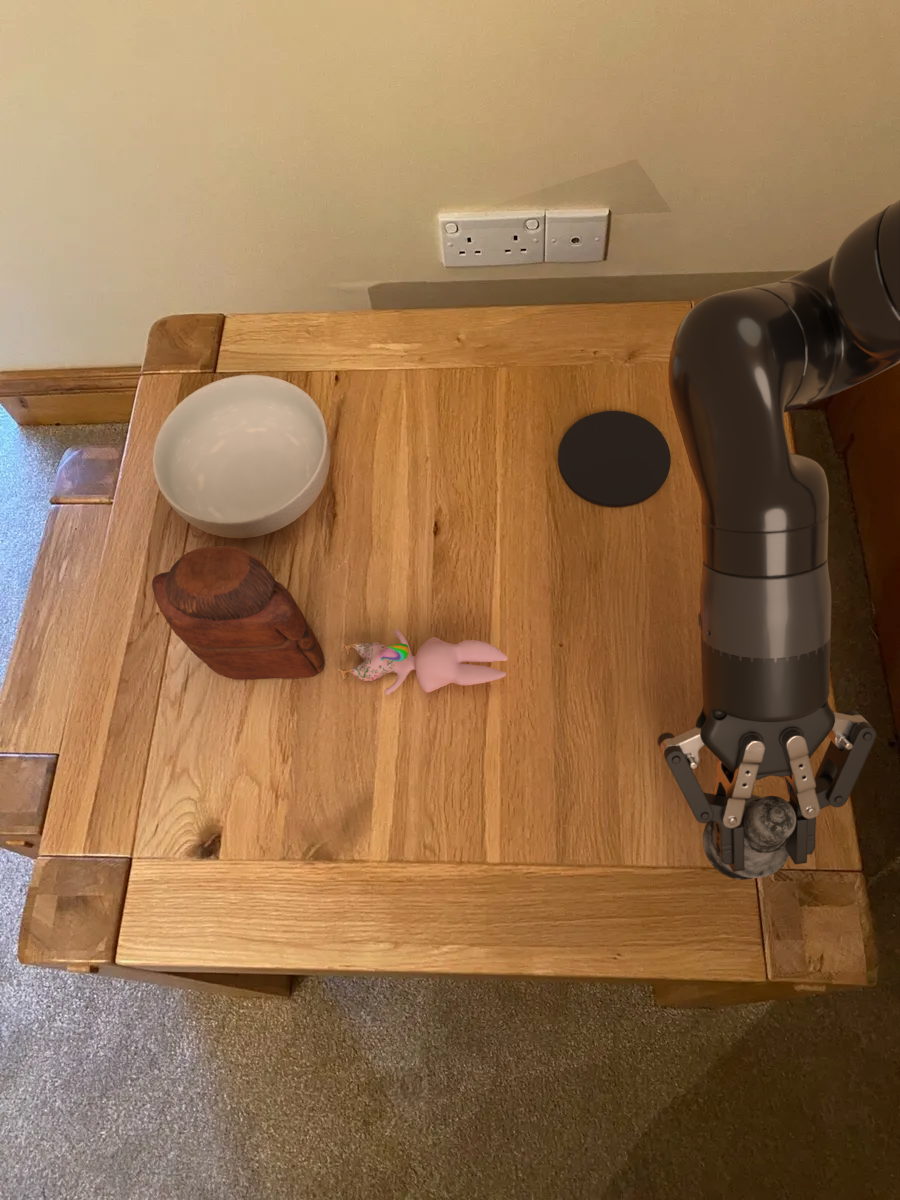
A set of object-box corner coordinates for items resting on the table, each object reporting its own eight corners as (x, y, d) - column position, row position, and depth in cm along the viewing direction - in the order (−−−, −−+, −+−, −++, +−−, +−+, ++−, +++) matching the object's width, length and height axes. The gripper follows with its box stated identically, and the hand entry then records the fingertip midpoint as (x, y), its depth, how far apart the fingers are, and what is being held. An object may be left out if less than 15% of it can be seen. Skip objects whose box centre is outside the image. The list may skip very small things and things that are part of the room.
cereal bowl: (308, 574, 85) (291, 539, 78) (151, 540, 88) (122, 503, 81) (361, 431, 91) (350, 387, 85) (213, 403, 94) (191, 359, 88)
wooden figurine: (332, 620, 83) (288, 526, 66) (328, 685, 80) (280, 604, 64) (209, 621, 84) (134, 529, 67) (200, 686, 81) (120, 606, 65)
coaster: (640, 400, 91) (641, 396, 90) (689, 485, 86) (690, 481, 86) (540, 435, 90) (541, 431, 89) (585, 522, 85) (585, 519, 85)
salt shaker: (691, 870, 66) (725, 844, 55) (706, 794, 68) (741, 755, 57) (772, 894, 65) (823, 873, 54) (784, 816, 67) (836, 780, 56)
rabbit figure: (345, 701, 81) (507, 707, 77) (322, 679, 76) (494, 683, 72) (356, 637, 83) (513, 640, 80) (334, 612, 78) (501, 613, 74)
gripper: (664, 668, 51) (675, 910, 57) (911, 636, 50) (897, 883, 56) (635, 620, 58) (648, 839, 64) (852, 592, 58) (844, 815, 63)
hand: (765, 859), depth 60 cm, fingers closed on salt shaker, 3 cm apart
